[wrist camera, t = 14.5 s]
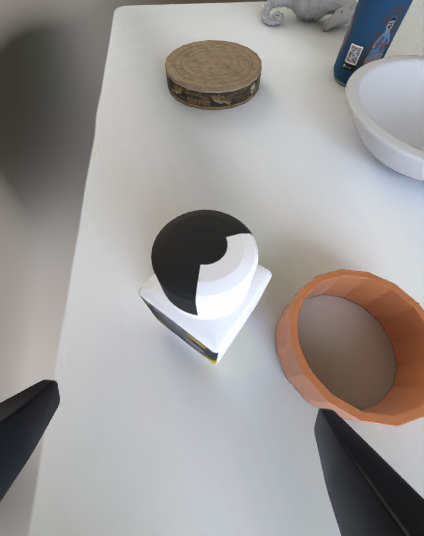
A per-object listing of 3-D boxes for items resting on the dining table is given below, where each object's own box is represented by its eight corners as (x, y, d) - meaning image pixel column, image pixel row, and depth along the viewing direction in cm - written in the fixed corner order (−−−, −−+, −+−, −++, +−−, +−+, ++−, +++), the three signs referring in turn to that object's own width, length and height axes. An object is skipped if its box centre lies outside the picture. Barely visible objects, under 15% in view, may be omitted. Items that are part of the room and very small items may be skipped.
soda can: (343, 65, 46) (383, -36, 35) (377, 78, 44) (431, -24, 33) (322, 78, 43) (359, -24, 33) (358, 94, 41) (409, -11, 31)
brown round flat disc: (149, 91, 41) (145, 71, 39) (198, 52, 48) (198, 32, 45) (231, 121, 38) (233, 100, 35) (273, 74, 44) (277, 54, 41)
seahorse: (265, 28, 50) (367, 6, 48) (258, -19, 52) (357, -42, 50) (263, 53, 55) (355, 34, 53) (257, 9, 57) (346, -10, 55)
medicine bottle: (155, 318, 23) (109, 256, 13) (200, 266, 26) (193, 177, 15) (215, 366, 22) (220, 338, 11) (258, 303, 24) (295, 232, 13)
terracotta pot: (308, 437, 19) (334, 449, 15) (258, 305, 24) (268, 288, 20) (430, 395, 21) (483, 395, 17) (359, 278, 25) (387, 257, 21)
